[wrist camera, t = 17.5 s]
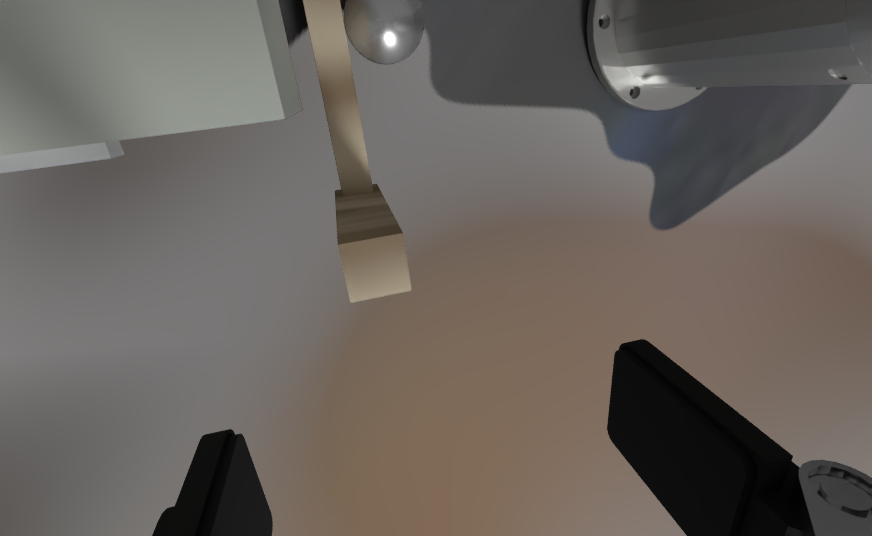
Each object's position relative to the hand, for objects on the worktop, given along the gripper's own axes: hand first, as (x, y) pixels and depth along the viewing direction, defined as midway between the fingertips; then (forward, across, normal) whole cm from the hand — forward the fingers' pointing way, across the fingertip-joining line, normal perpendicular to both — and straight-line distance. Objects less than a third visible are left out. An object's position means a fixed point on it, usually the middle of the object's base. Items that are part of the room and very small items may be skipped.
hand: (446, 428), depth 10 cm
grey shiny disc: (+23, -2, -12) cm, 26 cm away
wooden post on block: (+23, +1, -7) cm, 24 cm away
